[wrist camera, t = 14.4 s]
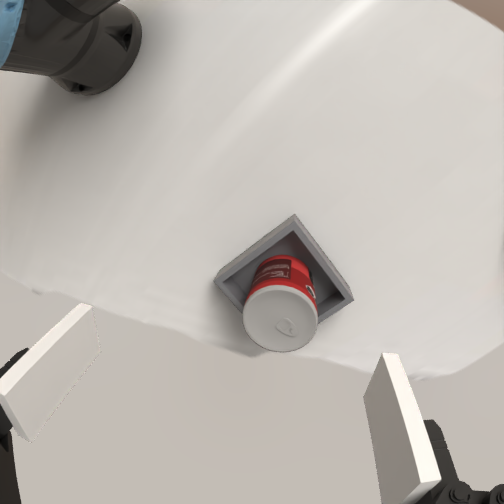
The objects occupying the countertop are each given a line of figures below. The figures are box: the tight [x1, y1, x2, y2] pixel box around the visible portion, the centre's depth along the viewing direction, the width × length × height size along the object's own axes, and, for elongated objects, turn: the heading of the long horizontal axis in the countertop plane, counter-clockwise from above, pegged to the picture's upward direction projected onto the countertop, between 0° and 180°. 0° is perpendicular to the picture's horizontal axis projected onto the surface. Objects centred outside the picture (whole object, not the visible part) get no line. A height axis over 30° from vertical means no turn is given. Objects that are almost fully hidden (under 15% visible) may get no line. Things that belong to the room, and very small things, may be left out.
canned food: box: [242, 255, 318, 352], centre depth 37 cm, size 8×8×11 cm
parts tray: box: [214, 214, 354, 323], centre depth 41 cm, size 13×13×4 cm
